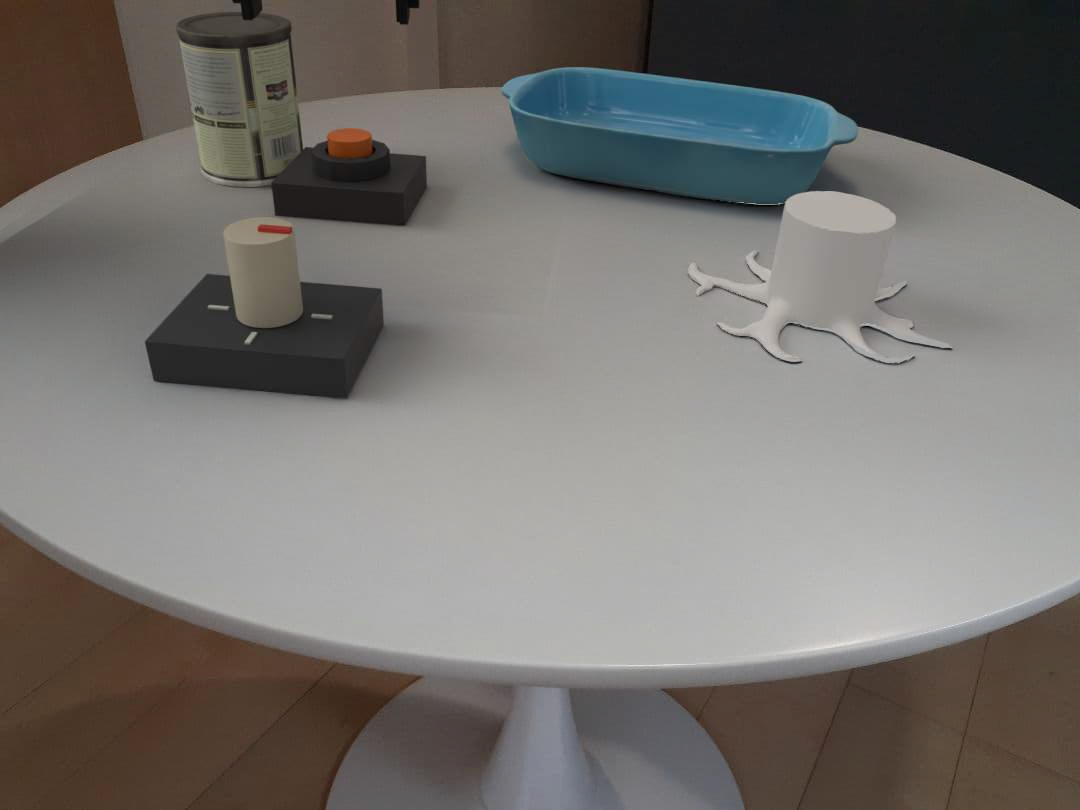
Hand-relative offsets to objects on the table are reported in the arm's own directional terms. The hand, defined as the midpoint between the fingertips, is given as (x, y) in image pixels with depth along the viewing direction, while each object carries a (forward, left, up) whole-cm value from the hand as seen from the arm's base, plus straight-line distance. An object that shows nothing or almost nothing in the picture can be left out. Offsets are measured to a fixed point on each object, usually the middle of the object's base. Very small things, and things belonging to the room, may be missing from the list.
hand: (328, 18), depth 60 cm
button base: (-5, +20, -20) cm, 29 cm away
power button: (-5, +20, -16) cm, 26 cm away
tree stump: (+36, +6, -21) cm, 42 cm away
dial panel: (-3, -8, -20) cm, 22 cm away
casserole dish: (+25, +36, -21) cm, 48 cm away
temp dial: (-3, -9, -17) cm, 20 cm away
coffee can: (-17, +26, -21) cm, 37 cm away
